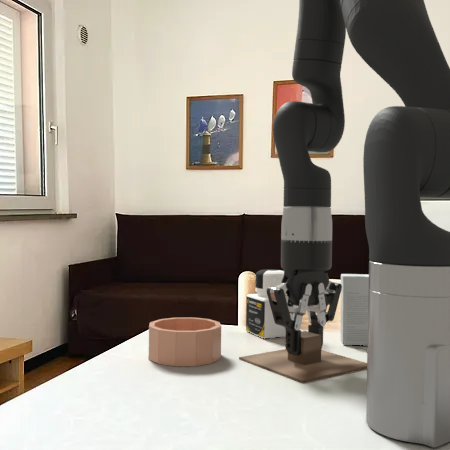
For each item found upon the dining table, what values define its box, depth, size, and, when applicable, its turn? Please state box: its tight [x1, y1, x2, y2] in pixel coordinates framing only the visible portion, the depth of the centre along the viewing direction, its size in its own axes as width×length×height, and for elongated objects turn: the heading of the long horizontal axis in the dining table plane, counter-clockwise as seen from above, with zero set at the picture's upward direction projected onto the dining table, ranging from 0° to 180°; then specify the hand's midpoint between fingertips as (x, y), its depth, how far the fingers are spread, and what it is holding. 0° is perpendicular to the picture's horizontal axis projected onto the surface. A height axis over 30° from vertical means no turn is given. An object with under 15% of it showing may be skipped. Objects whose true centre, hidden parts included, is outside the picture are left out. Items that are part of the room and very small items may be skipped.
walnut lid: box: [238, 330, 367, 384], centre depth 80 cm, size 14×14×5 cm
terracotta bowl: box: [148, 316, 222, 367], centre depth 83 cm, size 11×11×5 cm
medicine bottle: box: [245, 268, 298, 340], centre depth 100 cm, size 7×7×12 cm
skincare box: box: [340, 273, 369, 347], centre depth 93 cm, size 6×4×12 cm
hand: (304, 351), depth 80 cm, fingers open, 3 cm apart
